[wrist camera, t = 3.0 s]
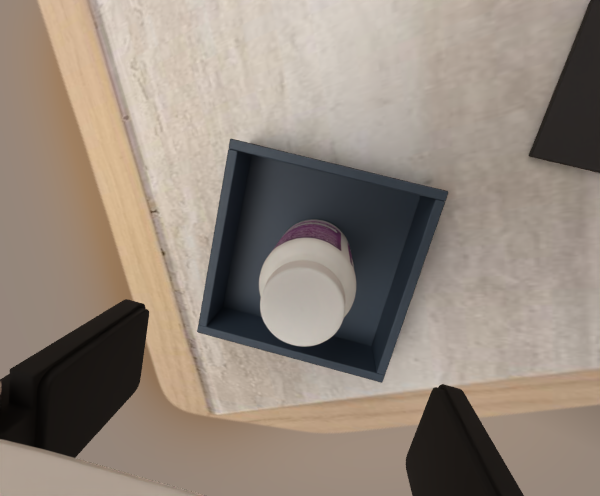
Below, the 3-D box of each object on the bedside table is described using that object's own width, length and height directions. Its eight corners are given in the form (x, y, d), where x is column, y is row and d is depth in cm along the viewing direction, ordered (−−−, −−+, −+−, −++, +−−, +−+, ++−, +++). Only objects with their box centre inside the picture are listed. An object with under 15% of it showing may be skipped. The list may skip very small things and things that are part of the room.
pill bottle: (264, 252, 25) (220, 303, 16) (315, 203, 24) (301, 226, 14) (313, 302, 25) (299, 380, 16) (366, 257, 24) (385, 314, 15)
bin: (247, 143, 24) (229, 138, 20) (430, 187, 23) (449, 191, 19) (216, 308, 27) (196, 332, 23) (375, 351, 26) (382, 383, 23)
